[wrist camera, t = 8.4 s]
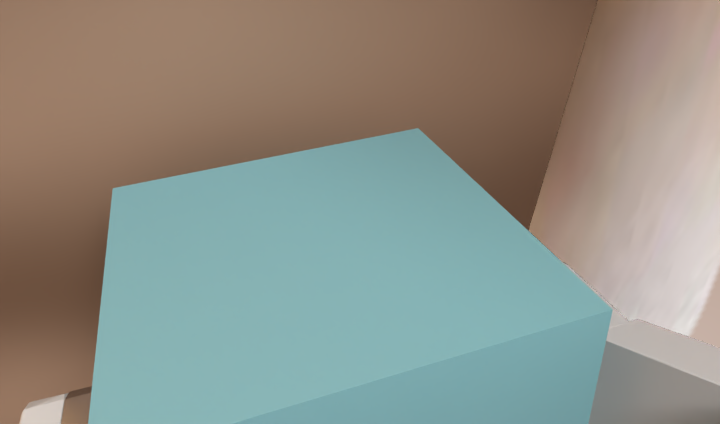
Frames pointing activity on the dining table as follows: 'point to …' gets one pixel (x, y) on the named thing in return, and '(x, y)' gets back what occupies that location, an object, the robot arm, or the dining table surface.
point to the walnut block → (239, 123)
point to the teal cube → (338, 298)
